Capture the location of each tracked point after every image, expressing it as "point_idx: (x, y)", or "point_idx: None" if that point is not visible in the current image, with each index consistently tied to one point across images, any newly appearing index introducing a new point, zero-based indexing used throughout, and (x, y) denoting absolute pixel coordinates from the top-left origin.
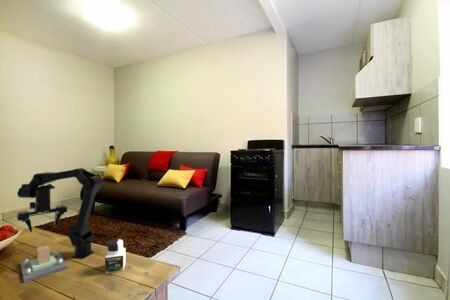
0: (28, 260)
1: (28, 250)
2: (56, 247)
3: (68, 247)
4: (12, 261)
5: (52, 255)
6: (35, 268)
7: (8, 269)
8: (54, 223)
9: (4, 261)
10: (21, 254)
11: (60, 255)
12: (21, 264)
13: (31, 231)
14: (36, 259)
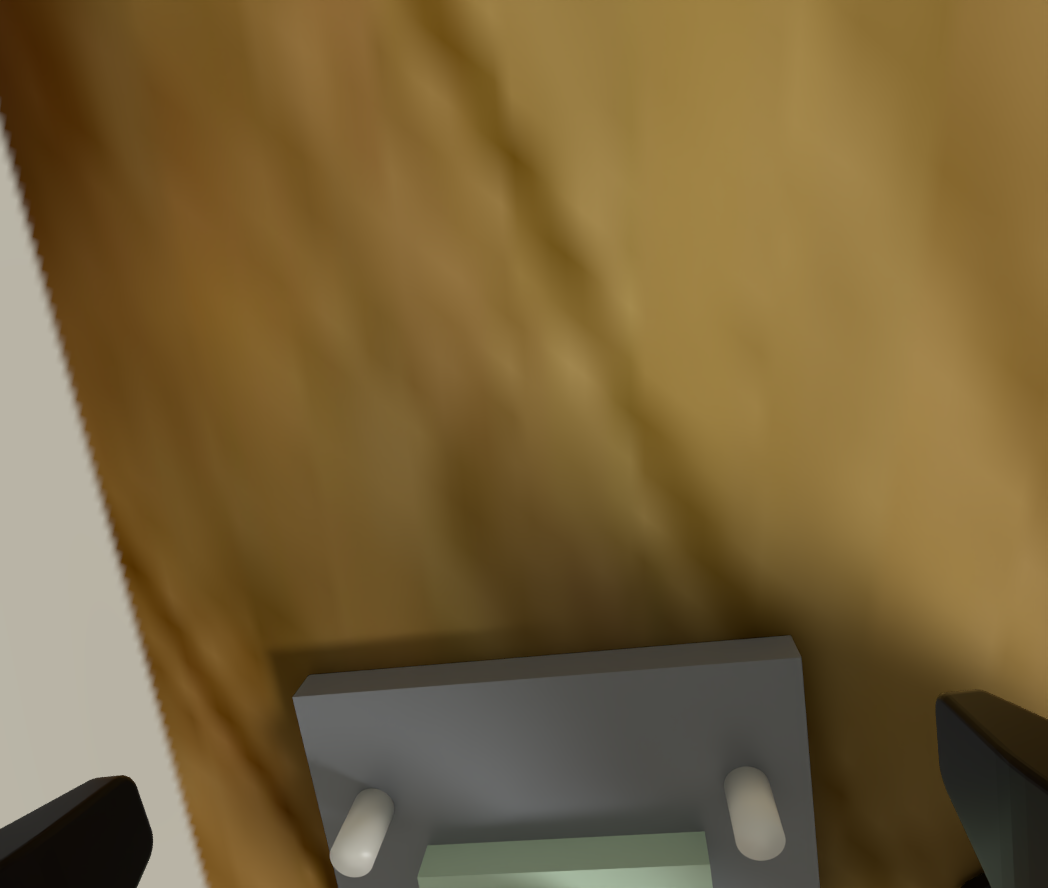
0: (380, 692)
1: (314, 75)
2: (776, 265)
3: (973, 423)
4: (174, 452)
5: (697, 873)
6: None
7: (193, 703)
8: (1038, 871)
9: (66, 371)
10: (237, 220)
11: (805, 826)
12: (314, 770)
13: (133, 879)
14: (482, 737)
